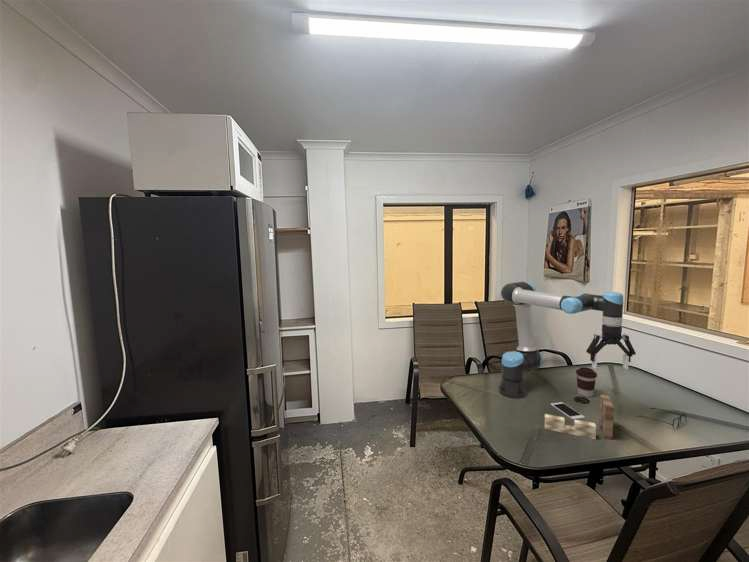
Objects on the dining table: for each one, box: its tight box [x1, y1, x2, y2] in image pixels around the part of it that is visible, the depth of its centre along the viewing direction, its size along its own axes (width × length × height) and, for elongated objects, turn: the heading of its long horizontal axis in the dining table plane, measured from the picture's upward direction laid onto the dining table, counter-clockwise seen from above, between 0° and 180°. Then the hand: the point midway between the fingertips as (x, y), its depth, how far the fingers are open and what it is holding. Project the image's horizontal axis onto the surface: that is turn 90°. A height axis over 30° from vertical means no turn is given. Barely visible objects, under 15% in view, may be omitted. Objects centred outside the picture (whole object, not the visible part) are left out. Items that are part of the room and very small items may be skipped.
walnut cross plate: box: [598, 394, 615, 441], centre depth 144 cm, size 12×3×15 cm, turn 153°
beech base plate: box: [544, 413, 597, 440], centre depth 145 cm, size 20×3×6 cm, turn 63°
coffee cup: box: [575, 366, 598, 398], centre depth 179 cm, size 10×10×15 cm
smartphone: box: [550, 401, 586, 421], centre depth 163 cm, size 7×16×1 cm, turn 10°
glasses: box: [636, 407, 687, 431], centre depth 153 cm, size 14×15×5 cm
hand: (609, 368), depth 150 cm, fingers open, 13 cm apart
